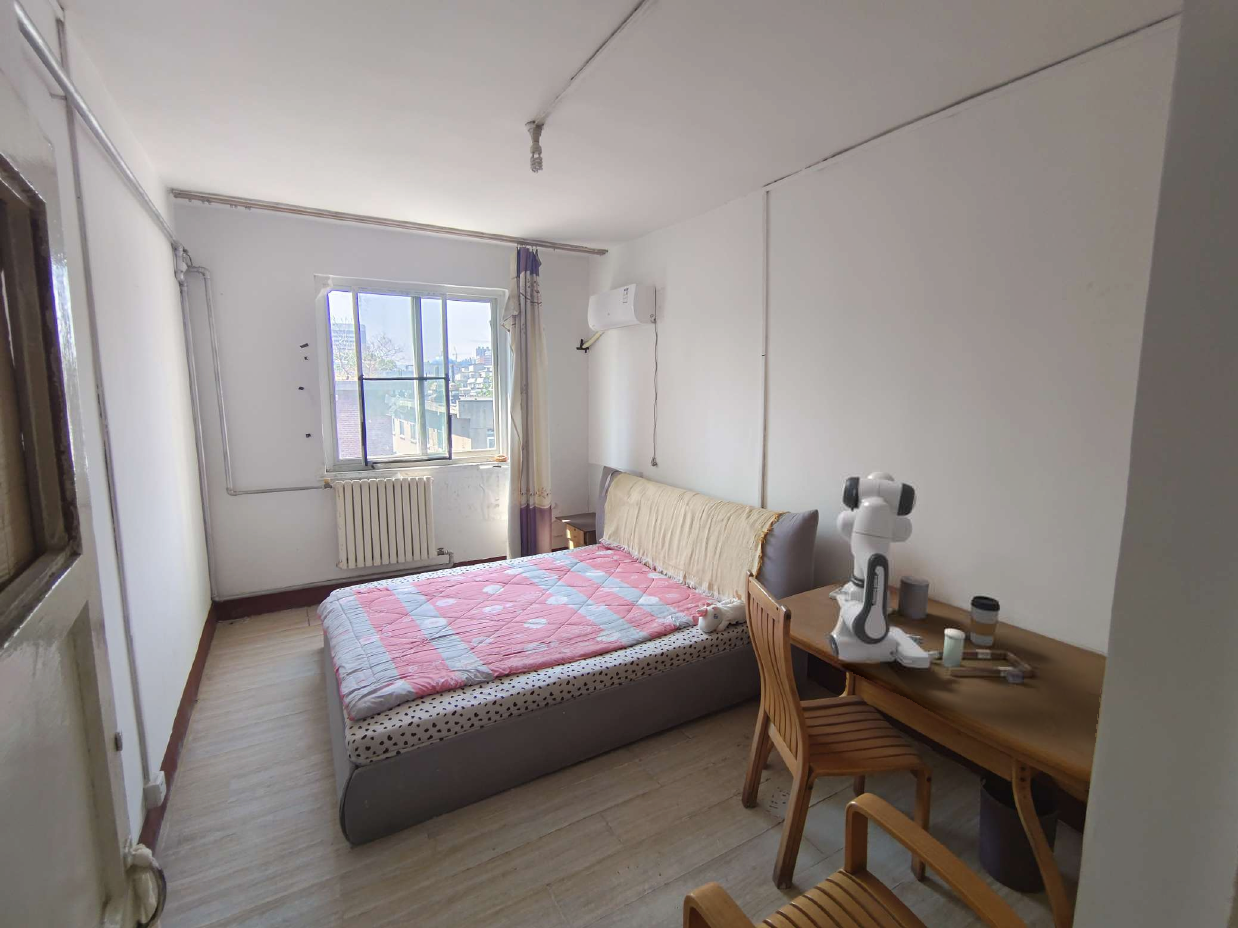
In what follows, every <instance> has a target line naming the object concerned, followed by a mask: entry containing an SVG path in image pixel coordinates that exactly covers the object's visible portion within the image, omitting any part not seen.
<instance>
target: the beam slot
mask: <svg viewBox="0 0 1238 928" xmlns="http://www.w3.org/2000/svg"><path fill="white" fill-rule="evenodd" d="M931 650H933V651H934V650H935V651H937V652H938V653H939V657H938V658H937V659H940V658H941V659H943V652H944V649H928V651H927V652H928V653H929V652H930V651H931ZM962 659H1005V660H1007V661H1008V662H1010V663H1011V664H1013V665H1014V667H1012V666H998V667H997V666H995V667H994V666H993V667H992V666H989V667H988V666H961V667H948V668H947V672H946V673H947V675H949V676H951V677H952V676H958V677H959V676H962V677H963V676H965V677H966V676H967V677H1005V680H1006V681H1008V682H1009V683H1010V684H1022V682H1023V681H1022V679H1023V677H1035V674H1036V673H1035V672H1036V670H1035V669H1034V668H1032V667H1031V666H1029V665H1028V664H1027V663H1026V662H1024V661H1023V660H1021V659H1020V658H1018V657H1017V656H1015V655H1014V654H1013V653H1011V652H1010V651H1009V650H1007V649H1006V650H1005V649H1003V650H1002V649H1001V650H1000V649H999V650H998V649H995V650H994V649H963V652H962ZM1015 666H1016V667H1015Z"/></svg>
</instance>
